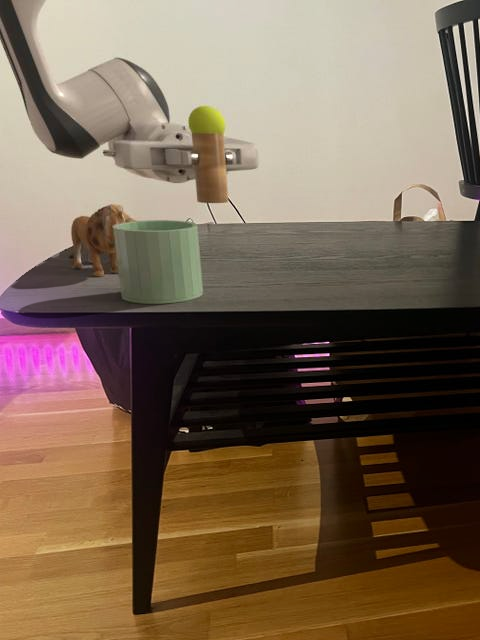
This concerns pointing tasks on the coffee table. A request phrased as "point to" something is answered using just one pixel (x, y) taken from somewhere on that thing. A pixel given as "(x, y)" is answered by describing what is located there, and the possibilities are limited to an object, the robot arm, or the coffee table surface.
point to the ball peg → (209, 154)
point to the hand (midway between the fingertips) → (212, 158)
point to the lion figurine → (97, 236)
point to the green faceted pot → (158, 261)
